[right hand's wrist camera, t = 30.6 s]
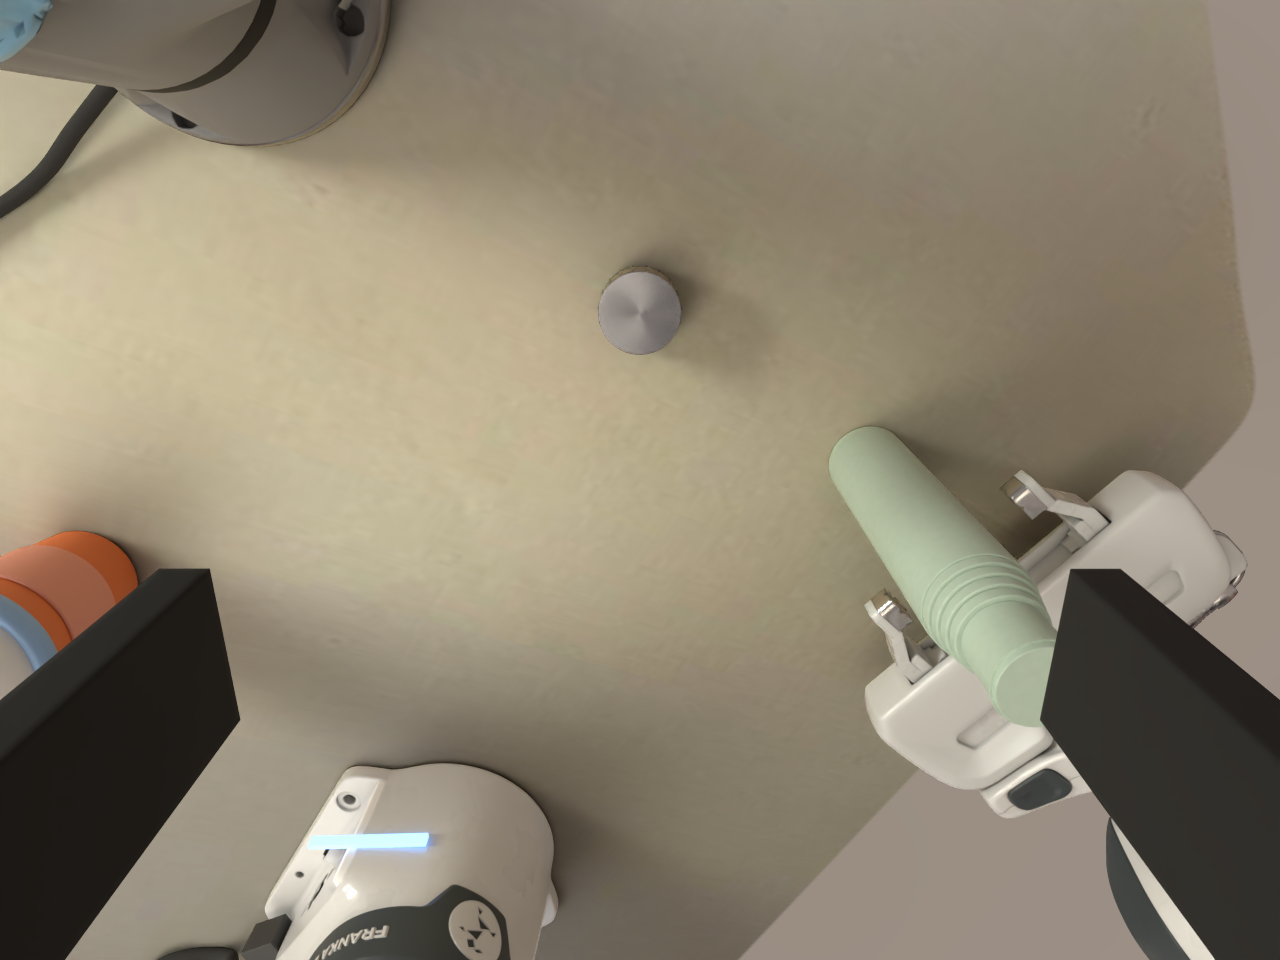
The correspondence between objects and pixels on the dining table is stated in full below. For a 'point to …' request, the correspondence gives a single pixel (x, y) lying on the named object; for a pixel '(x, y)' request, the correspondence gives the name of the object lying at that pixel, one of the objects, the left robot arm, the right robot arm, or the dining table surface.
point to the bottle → (949, 570)
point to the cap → (639, 310)
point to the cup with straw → (55, 597)
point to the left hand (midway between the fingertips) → (943, 543)
